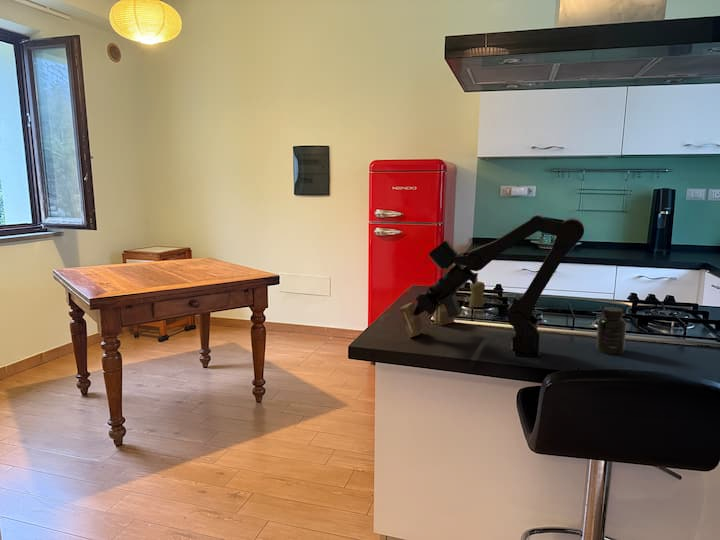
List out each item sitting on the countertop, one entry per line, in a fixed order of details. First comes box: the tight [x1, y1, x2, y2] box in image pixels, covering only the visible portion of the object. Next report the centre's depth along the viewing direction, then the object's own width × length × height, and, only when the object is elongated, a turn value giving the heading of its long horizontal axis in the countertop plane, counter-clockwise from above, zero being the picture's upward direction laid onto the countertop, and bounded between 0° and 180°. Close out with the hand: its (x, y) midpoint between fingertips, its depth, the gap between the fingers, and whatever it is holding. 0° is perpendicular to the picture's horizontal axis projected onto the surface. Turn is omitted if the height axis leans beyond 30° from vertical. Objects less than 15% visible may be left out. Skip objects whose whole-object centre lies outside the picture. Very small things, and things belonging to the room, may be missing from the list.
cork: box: [468, 281, 486, 308], centre depth 172 cm, size 6×6×11 cm
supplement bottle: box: [596, 306, 627, 356], centre depth 130 cm, size 7×7×12 cm
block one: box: [398, 301, 425, 338], centre depth 143 cm, size 3×6×9 cm, turn 155°
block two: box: [433, 304, 455, 326], centre depth 155 cm, size 3×6×9 cm, turn 126°
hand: (414, 314), depth 143 cm, fingers closed, pressing on block one
